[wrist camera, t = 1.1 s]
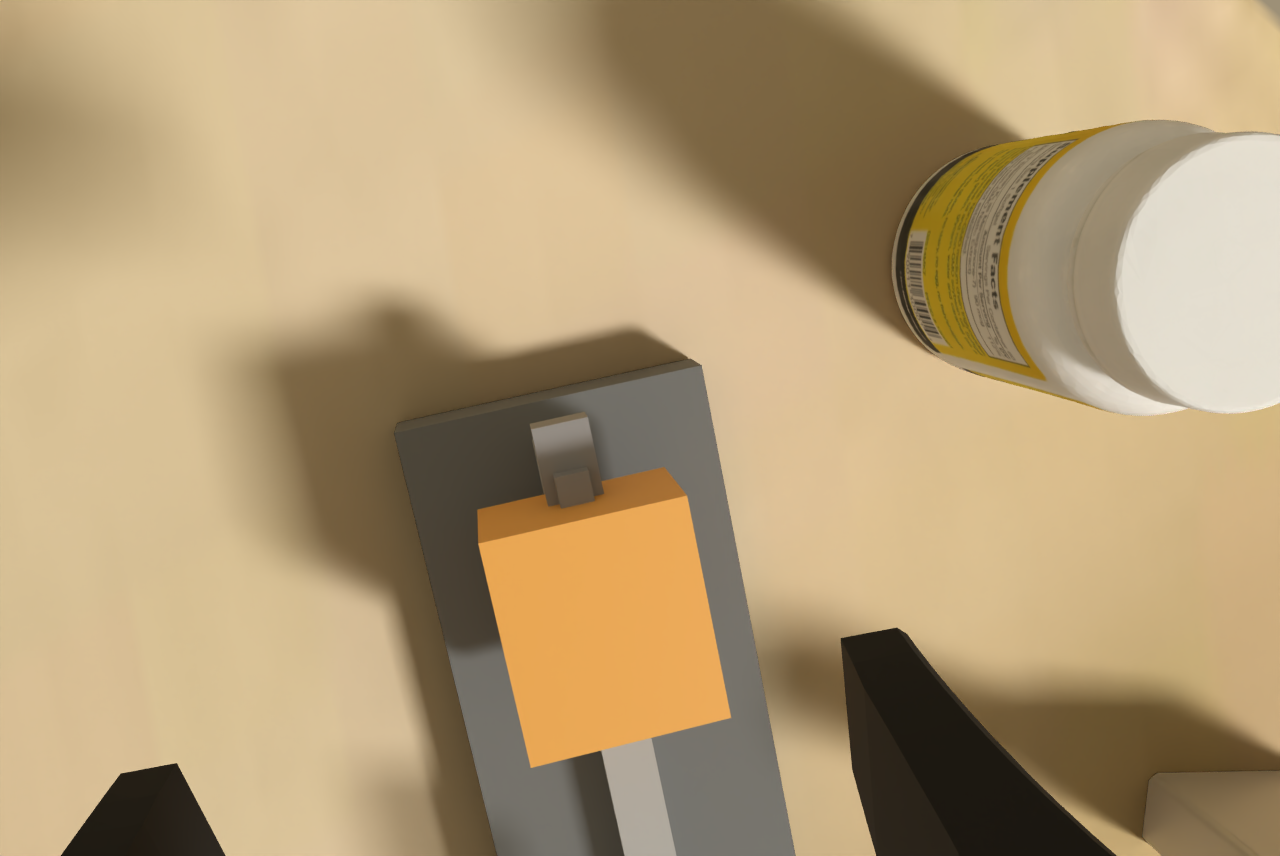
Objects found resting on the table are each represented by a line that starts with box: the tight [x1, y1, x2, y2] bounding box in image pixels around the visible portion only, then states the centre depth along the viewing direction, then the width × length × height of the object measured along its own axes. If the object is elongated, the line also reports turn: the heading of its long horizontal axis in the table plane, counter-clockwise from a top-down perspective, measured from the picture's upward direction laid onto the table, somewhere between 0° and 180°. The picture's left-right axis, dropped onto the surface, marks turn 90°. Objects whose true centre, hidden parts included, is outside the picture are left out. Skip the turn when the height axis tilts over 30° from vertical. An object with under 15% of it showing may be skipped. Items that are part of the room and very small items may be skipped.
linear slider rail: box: [394, 359, 796, 856], centre depth 23 cm, size 15×6×6 cm, turn 11°
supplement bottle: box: [892, 120, 1280, 416], centre depth 21 cm, size 5×5×8 cm
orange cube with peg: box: [477, 412, 731, 768], centre depth 21 cm, size 5×4×2 cm, turn 11°
